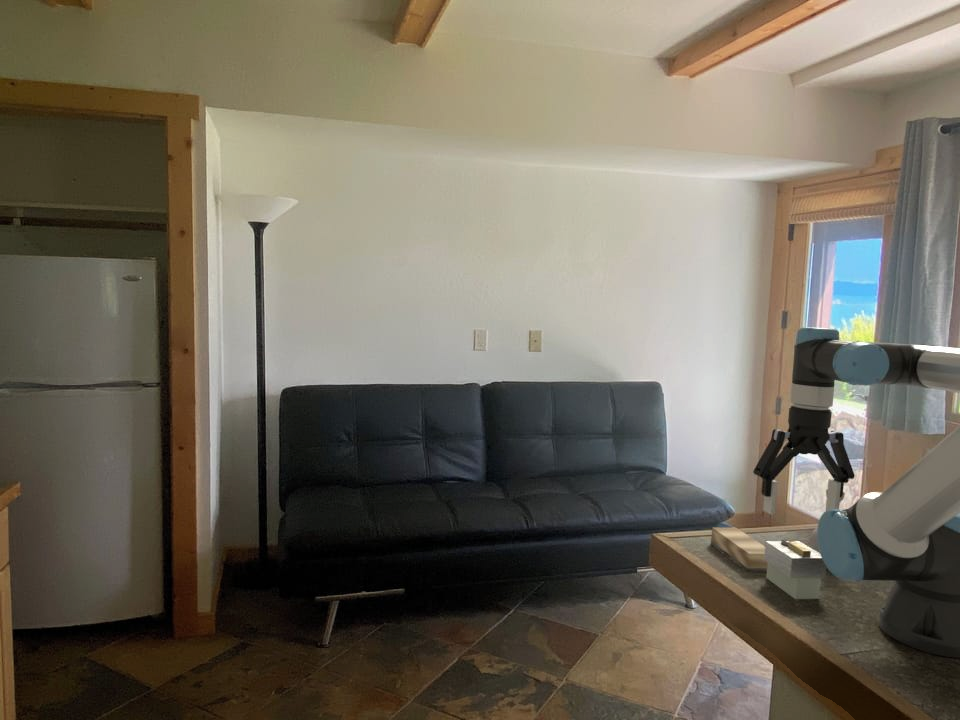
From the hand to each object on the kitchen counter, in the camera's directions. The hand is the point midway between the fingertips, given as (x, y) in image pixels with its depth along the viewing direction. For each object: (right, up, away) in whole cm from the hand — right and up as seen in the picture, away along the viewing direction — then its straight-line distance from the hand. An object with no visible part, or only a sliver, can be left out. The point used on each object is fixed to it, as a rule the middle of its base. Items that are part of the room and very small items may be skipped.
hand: (800, 512), depth 136 cm
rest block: (-1, -15, +2) cm, 16 cm away
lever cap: (-1, -11, +1) cm, 12 cm away
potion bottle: (+15, -15, +18) cm, 28 cm away
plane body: (-5, -14, +17) cm, 23 cm away
